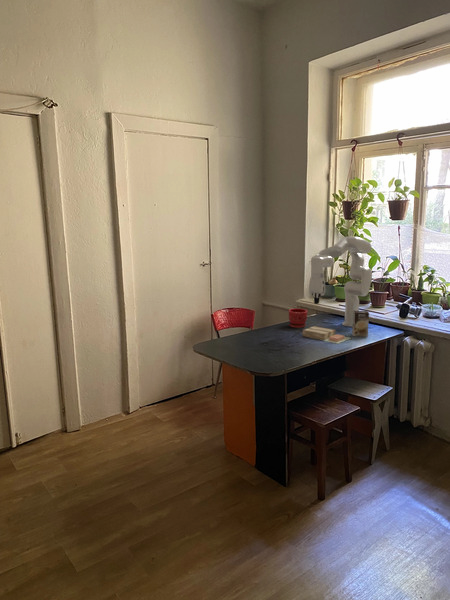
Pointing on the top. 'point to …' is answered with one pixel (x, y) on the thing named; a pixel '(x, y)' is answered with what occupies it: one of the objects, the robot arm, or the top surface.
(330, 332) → the deck
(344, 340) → the mat
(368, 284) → the robot arm
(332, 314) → the top surface
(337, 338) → the salmon brown flat block
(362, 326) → the coffee box
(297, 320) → the plant pot
